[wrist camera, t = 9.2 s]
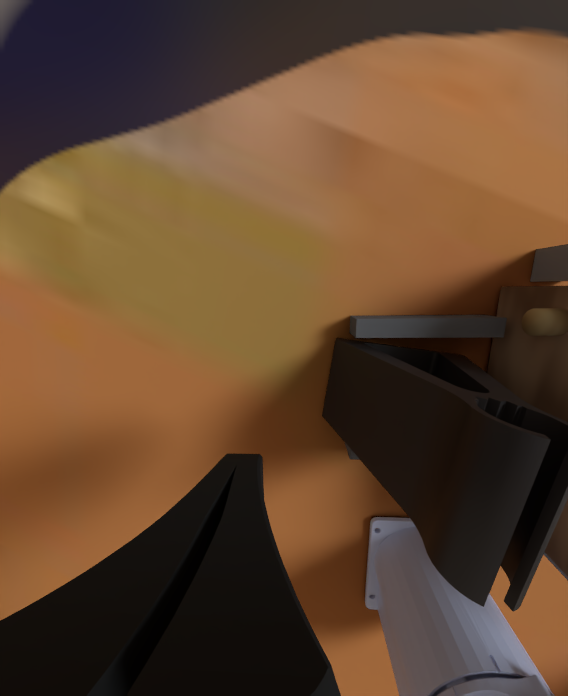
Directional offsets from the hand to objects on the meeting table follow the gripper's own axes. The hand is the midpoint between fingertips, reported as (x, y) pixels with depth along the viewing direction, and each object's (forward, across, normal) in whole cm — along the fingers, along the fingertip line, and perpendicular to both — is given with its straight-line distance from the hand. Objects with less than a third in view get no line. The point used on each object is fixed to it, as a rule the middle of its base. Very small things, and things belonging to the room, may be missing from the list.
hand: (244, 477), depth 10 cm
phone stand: (+10, -9, 0) cm, 14 cm away
